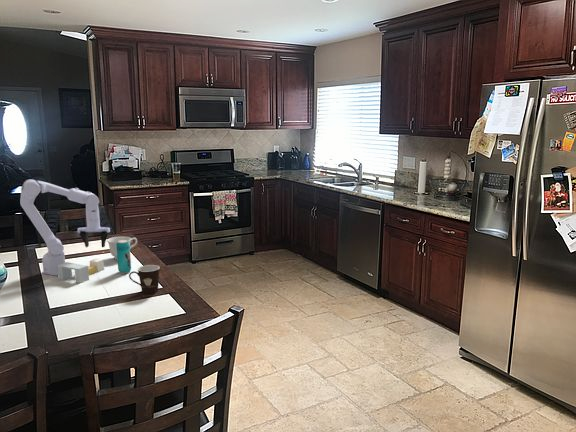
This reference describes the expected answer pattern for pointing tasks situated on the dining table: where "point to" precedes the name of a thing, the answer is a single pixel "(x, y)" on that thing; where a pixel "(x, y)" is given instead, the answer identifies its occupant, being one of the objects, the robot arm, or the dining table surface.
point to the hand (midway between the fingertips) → (95, 246)
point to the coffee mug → (148, 278)
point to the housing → (80, 271)
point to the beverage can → (123, 256)
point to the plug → (96, 266)
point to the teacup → (113, 243)
